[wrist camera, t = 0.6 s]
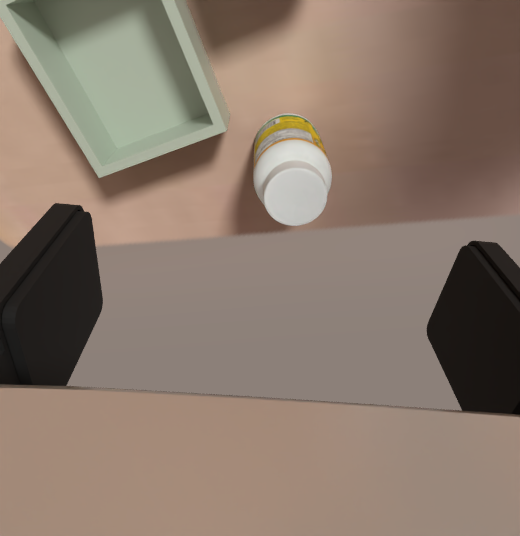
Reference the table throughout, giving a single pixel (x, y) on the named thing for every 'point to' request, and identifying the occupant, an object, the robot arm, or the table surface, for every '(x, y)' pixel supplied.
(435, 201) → the table surface
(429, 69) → the table surface
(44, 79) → the large crate
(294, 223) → the supplement bottle
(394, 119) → the table surface
